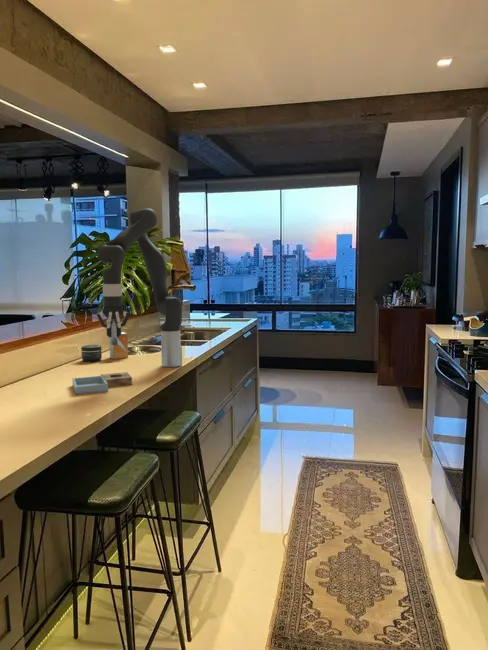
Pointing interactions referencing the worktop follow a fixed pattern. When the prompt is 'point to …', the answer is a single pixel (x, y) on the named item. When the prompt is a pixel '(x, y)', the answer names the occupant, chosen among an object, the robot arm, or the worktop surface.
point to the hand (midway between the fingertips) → (113, 336)
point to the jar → (91, 353)
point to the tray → (89, 385)
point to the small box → (119, 347)
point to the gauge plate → (117, 379)
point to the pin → (113, 333)
